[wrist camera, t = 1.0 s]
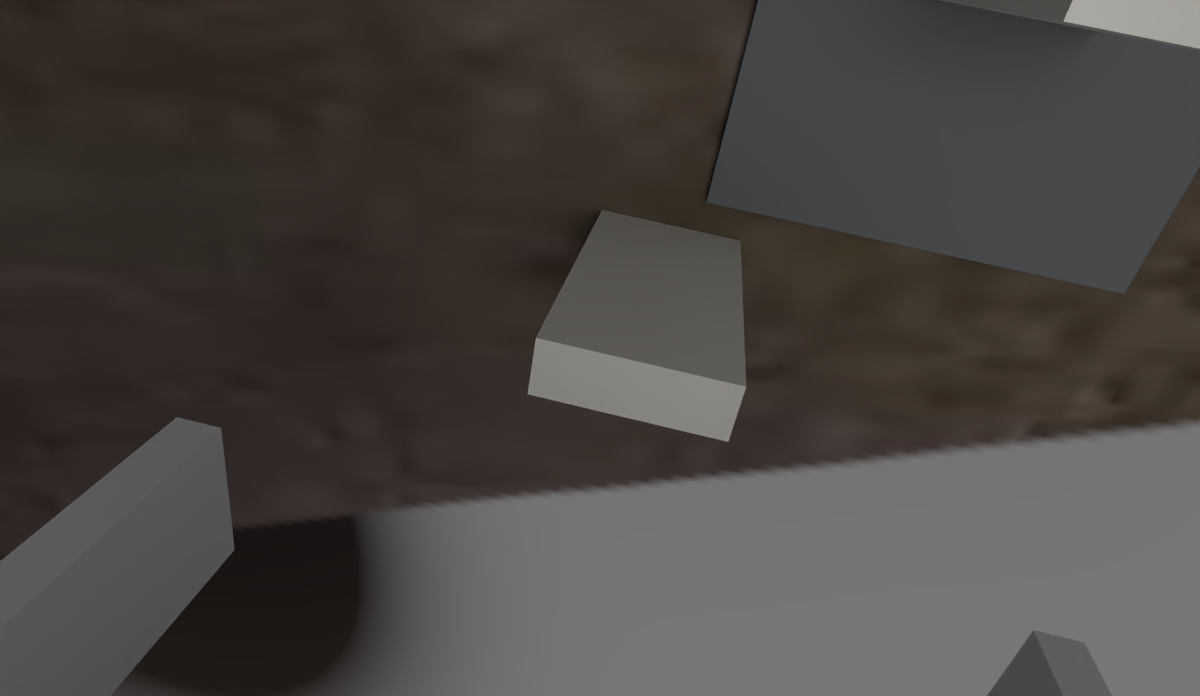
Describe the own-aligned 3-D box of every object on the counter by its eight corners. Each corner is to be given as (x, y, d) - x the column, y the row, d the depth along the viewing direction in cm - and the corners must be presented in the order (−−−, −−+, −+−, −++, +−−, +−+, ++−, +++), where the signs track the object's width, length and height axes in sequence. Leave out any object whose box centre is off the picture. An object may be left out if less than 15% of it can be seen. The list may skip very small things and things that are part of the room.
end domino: (594, 251, 26) (527, 394, 18) (602, 210, 25) (536, 337, 17) (728, 281, 26) (728, 441, 17) (740, 240, 25) (745, 386, 17)
